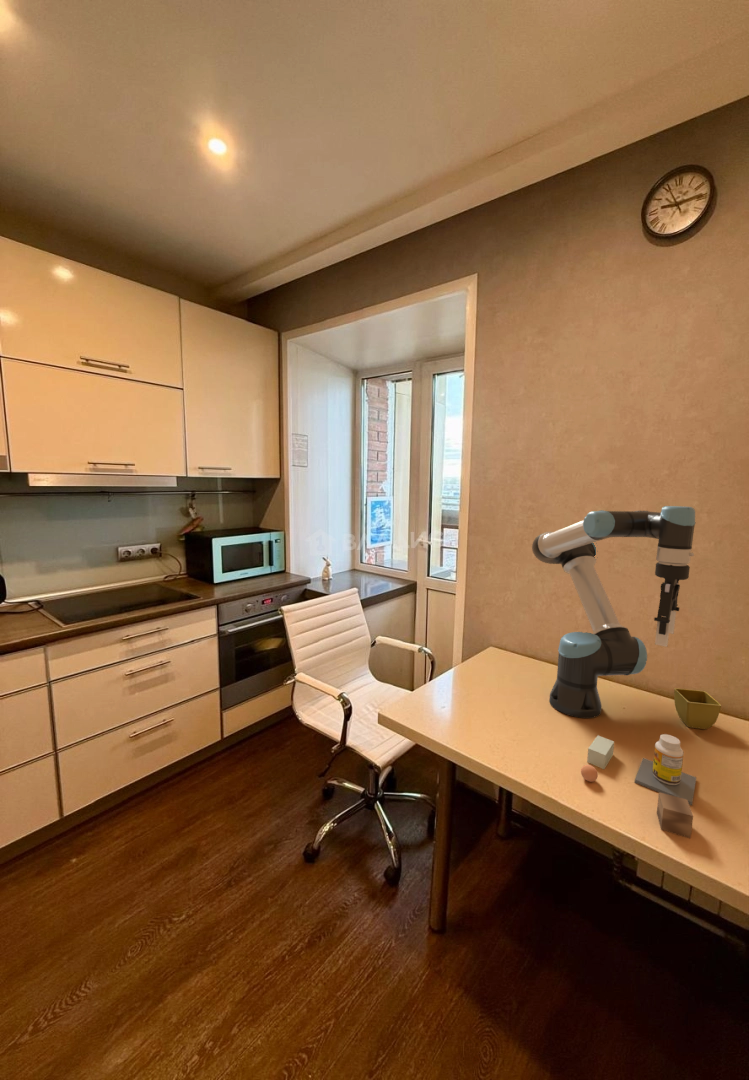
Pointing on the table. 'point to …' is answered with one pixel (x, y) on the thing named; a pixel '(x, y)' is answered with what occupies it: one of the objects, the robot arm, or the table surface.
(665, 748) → the supplement bottle
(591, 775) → the terracotta ball
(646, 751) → the table surface
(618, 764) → the table surface
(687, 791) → the slate coaster
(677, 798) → the walnut cube
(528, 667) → the table surface
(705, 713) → the flower pot
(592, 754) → the sage block
